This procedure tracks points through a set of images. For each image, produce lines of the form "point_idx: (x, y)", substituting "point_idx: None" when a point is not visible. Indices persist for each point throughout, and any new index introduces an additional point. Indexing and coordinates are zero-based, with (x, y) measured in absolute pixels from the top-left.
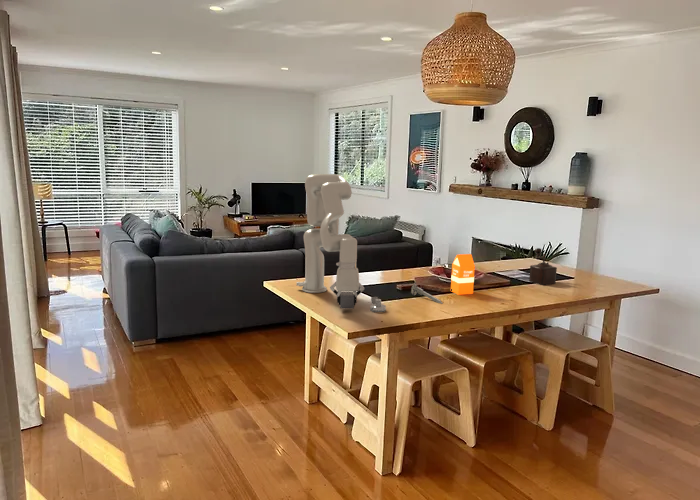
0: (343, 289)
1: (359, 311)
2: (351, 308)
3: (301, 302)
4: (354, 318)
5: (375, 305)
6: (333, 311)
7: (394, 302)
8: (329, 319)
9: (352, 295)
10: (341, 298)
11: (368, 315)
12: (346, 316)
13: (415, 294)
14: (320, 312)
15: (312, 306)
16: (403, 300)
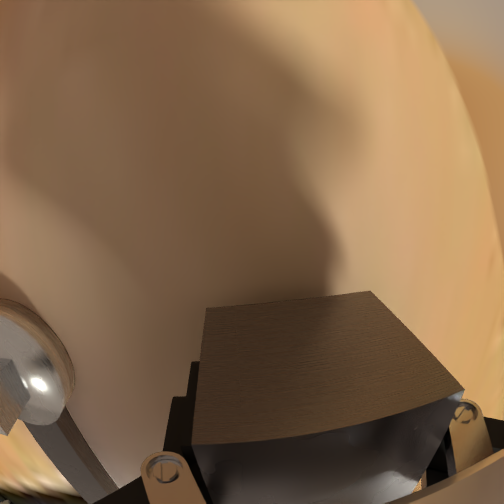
0: (480, 498)
1: (153, 332)
2: (235, 306)
3: (500, 408)
4: (193, 77)
5: (17, 382)
6: (403, 300)
7: (18, 465)
8: (436, 59)
9: (231, 448)
10: (423, 362)
11: (54, 210)
12: (287, 142)
13: (3, 501)
14: (487, 257)
15: (488, 371)
16: (4, 474)
